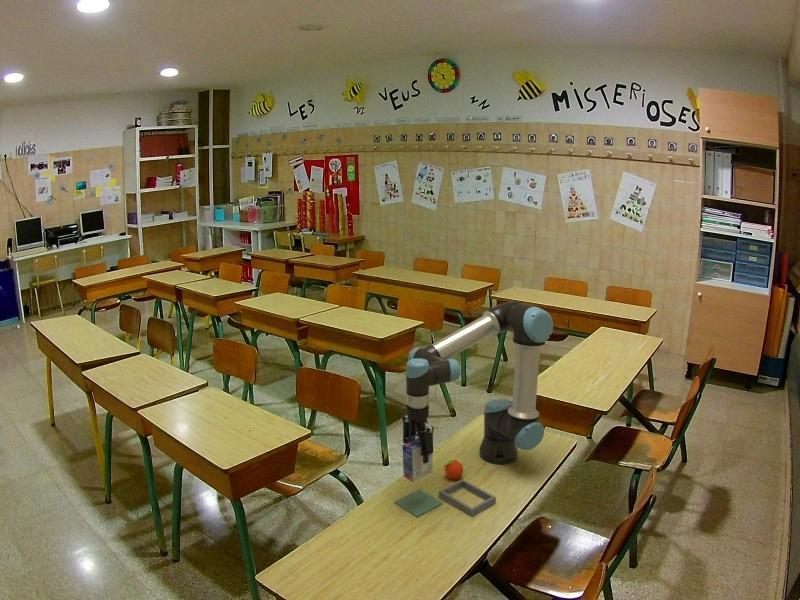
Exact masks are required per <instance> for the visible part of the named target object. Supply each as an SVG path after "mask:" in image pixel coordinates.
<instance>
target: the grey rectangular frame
mask: <svg viewBox="0 0 800 600" xmlns="http://www.w3.org/2000/svg"><path fill="white" fill-rule="evenodd" d="M462 488H463V489H465V490H467V491H469V492H471V493H472V494H473V495H476V496H478V497H479V498H481V499H483V500H484V501H482V502H480V503H478V504H476V505H475V506H473V507H472V506H469V505H468V504H466V503H464V502H462V501H461V500H460V499H457V498H455V497H454V496H452V495H451V494H453V493H455V492H456V491H458V490H460V489H462ZM438 498H440V499H441V500H443V501H444V502H446V503H448V504H449V505H452V506H453V507H454V508H457V509H458V510H459V511H461V512H463V513H464V514H466V515H469V516H470V517H471V518H473V517H474V516H477V515H478V514H479V513H482V512H483V511H485V510H487V509H489V508H490V507H492V506H494V505H495V504H496V501H497V497H496V496H494V495H493V494H491V493H489V492H487V491H486V490H484V489H482V488H480V487H478V486H476V485H475V484H472V483H470V482H469V481H467V480H465V479H463V478H462V479H460V480H458V481H456V482H454V483H452V484H450V485H448V486H446V487H444V488H443V489H442V488H441V489H440V490H438Z"/></svg>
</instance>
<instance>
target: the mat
mask: <svg viewBox="0 0 800 600" xmlns="http://www.w3.org/2000/svg"><path fill="white" fill-rule="evenodd" d="M394 504H395V505H397V506H398V507H401V508H402V509H404V510H405V511H407V512H408V513H409V514H411V515H412V516H414V517H415V518H419V517H421V516H423V515H426V514H427V513H429V512H431V511H432V510H434V509H436V508H438V507H440V506H443V504H444V502H442V501H441V500H439V499H437V498H436V497H434V496H432V495H431V494H429V493H427V492H426V491H424V490H422V489H421V488H418V489H415V490H414V491H412V492H410V493H408V494H406V495H404V496H402V497H400V498H399V499H396V500H394Z"/></svg>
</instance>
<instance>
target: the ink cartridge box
mask: <svg viewBox="0 0 800 600" xmlns="http://www.w3.org/2000/svg"><path fill="white" fill-rule="evenodd" d="M414 437H415V440H413V438H414ZM416 437H417V438H416ZM411 439H412V441H410V442H408V443H403V444H402V465H403V466H402V468H403V469H402V470H403V471H402V472H403V478H404V479H406V480H408V481H410V482H411V483H414V482H416V481H418V480H420V479H422V478H425V477H426V476H428V475H430V474H432V473H434V472H433V471H434V463H433V457H434V456H433V455H434V454H433V453H434V452H433V453H432V454H430V455H429V461H428V470H426V471H424V472H420V454H422V451H421V446H420V440H419V436H418V435H417V433H416V434H415V435H413V436H411ZM425 451H426V450H425Z"/></svg>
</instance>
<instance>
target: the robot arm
mask: <svg viewBox="0 0 800 600" xmlns="http://www.w3.org/2000/svg"><path fill="white" fill-rule="evenodd" d="M553 331H554V322H553V318H552V316H551V314H550V313H549V312H547V310H544V309H542V308H541V307H538V306H534V305H530V304H529V303H528V304H527V303H523V302H522V301H519V300H511V301H507V302H502V303H500V304H497V305H496V306H494V307H491V308H489V309H488V310H485V311H484V312H483V314H482V316H480V317H479V318H477V319H475V320H473V321H471V322H470V323H468V324H467V325H465V326H462V327H461V328H458V329H457V330H455V331H454V332H452V333H450V334H448V335H446V336H445V337H443V338H441V339H440V340H438V341H435V342H434V343H432V344H430V345H428V346H427V347H425V348H422V347H415V348H413V349H411V350H410V352H409V354H408V357H407V358H408V359H407V362H406V366H405V378H406V380H405V388H406V405H405V406H406V407H405V408H406V412H405V413H406V415H404V416H402V417H401V419H402V442H403V444H406V443H408V442H410V441H412V439H411V436H413V435H415V434H417V435H418V436H419V440H420V446H421V451H422V454H420V472H424V471H426V470H428V461H429V455H430V454H432V453H434V430H435V427H434V426H432V425H431V426H430V425H429V424H428V423H429V422H428V417H429V416H430V415H429V413H430V406H429V404H430V396H429V395H430V394H429V392H430V387H432V386H437V385H441V384H446V383H452V382H453V381H457V380H459V378H460V376H461V369H462V368H461V365H460V363H459V361H458V360H456V359H455V358H453V357H454V356H456V355H458V354H460V353H461V352H464V350H466V349H468V348H470V347H472V346H474V345H475V344H477V343H479V342H481V341H482V340H483V341H484V339H486V338H488V337H490V336H491V335H498V334H500V333H503V332H511V333H512V343H513V344H514V345H515V346H516V348H515V361H514V362H515V363H514V376H513V388H512V389H513V390H512V400H511V399H505V398H499V399H491V400H489V401H487V402H486V403H485V405H484V411H483V413H484V415H483V418H484V419H483V423H484V424H483V426H484V427H483V428H484V429H483V438H482V441H481V443H480V447H479V453H478V455H479V457H480V459H482V460H483V461H485V462H487V463H490V464H492V465H493V464H495V465H507V464H511V463H513V462H515V461H516V460H517V458H518V449H517V448H520V449H521V450H524V451H530V450H533V449H535V448H536V447H538V446H539V444H540V443H541V442H542V441H543V439H544V435H545V427H544V426H543V425H542V423H541V422H540V420H539V418H540V412H539V411H538V410H537V409H536V405H537V396H538V395H537V393H538V378H539V370H540V369H539V368H540V358H541V357H540V356H541V348H542V347H544V346H545V344H546V341H548V340H549V339H550V336H552V334H553ZM418 436H417V437H418ZM415 439H416V437H414V438H413V440H415ZM425 450H426V451H425Z"/></svg>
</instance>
